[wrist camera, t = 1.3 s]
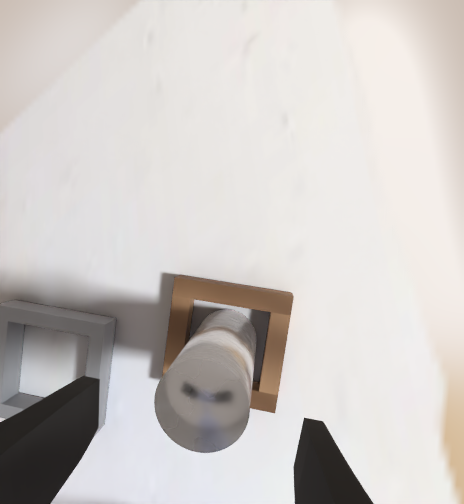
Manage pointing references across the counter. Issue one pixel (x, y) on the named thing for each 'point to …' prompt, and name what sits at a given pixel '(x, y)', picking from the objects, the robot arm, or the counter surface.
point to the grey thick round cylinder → (209, 384)
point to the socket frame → (237, 296)
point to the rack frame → (20, 313)
